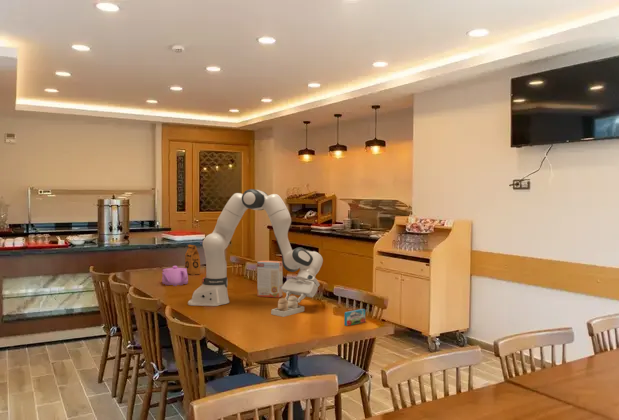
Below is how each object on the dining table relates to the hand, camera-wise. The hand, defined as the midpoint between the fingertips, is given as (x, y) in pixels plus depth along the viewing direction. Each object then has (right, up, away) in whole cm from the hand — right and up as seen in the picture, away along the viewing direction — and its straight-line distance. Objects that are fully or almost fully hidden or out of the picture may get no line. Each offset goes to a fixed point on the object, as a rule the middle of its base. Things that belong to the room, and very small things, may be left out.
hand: (292, 300), depth 259 cm
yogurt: (+30, -7, -21) cm, 37 cm away
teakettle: (-82, -4, +82) cm, 116 cm away
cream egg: (0, -5, +1) cm, 5 cm away
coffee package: (-79, -2, +126) cm, 148 cm away
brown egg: (-4, -6, -5) cm, 9 cm away
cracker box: (-14, -5, +42) cm, 44 cm away
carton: (-2, -6, -2) cm, 7 cm away
